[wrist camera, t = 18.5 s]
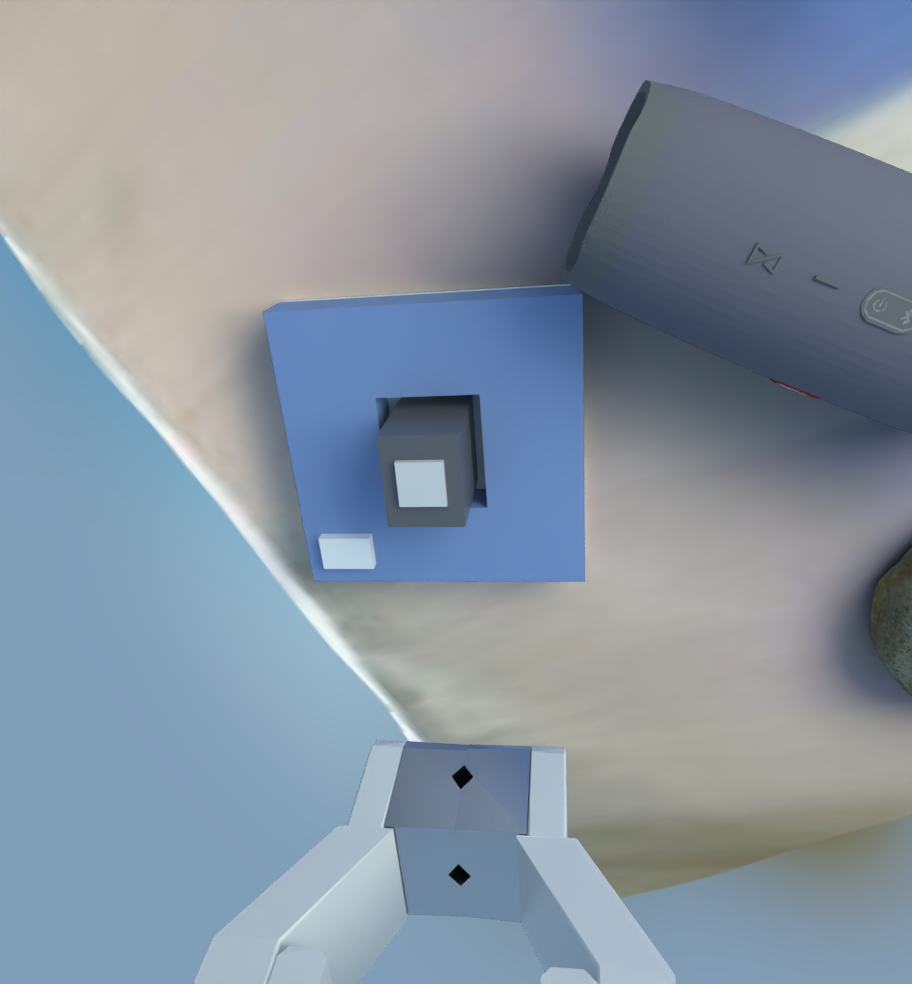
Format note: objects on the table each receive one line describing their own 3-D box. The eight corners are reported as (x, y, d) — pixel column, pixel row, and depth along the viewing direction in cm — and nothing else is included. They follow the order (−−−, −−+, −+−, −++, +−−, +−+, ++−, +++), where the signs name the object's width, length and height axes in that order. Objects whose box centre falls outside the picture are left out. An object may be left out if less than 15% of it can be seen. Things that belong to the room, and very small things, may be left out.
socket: (283, 300, 40) (258, 314, 37) (581, 283, 37) (582, 296, 34) (328, 555, 46) (310, 586, 43) (583, 555, 44) (585, 587, 41)
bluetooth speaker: (556, 273, 37) (553, 314, 28) (639, 75, 33) (666, 52, 24) (959, 437, 38) (1079, 528, 29) (1089, 265, 34) (1276, 310, 25)
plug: (401, 397, 41) (374, 438, 35) (472, 395, 40) (457, 436, 34) (410, 478, 43) (386, 530, 37) (477, 477, 42) (464, 529, 37)
